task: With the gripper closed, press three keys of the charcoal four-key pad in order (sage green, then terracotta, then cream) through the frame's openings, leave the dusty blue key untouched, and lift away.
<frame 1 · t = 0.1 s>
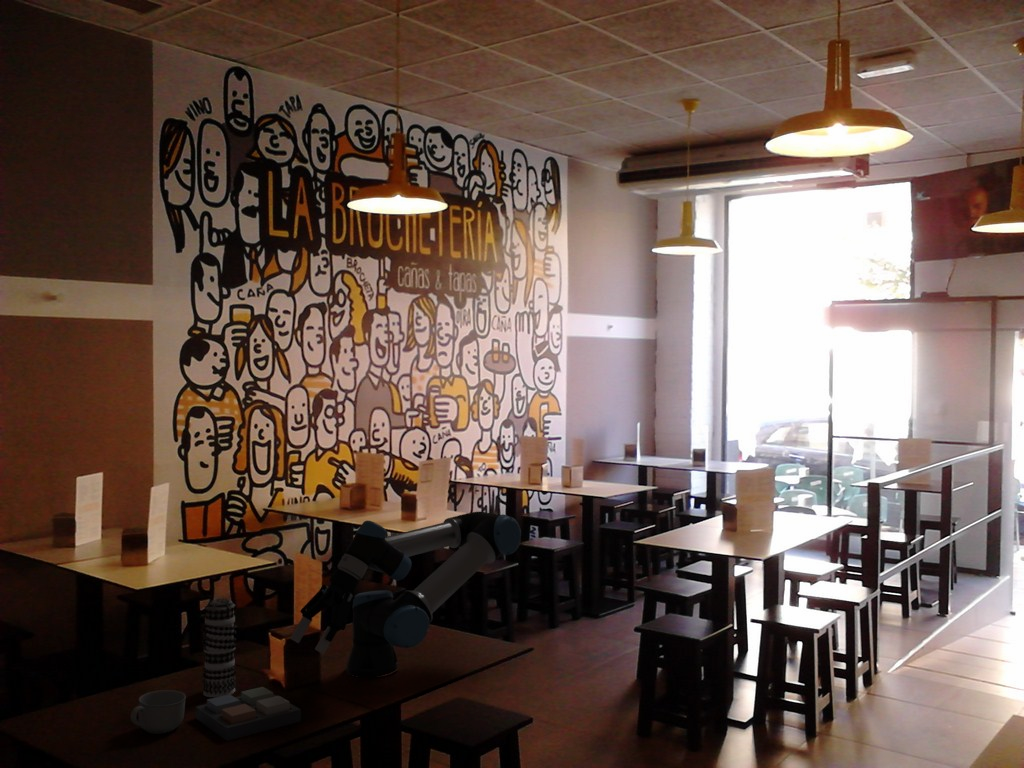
hand: (306, 646, 232), 15 cm above the table, tool tilted 35°, fingers open, 13 cm apart
sage key: (257, 698, 227), point 3 cm above the table, slide at 0.0 cm
blue key: (223, 706, 221), point 3 cm above the table, slide at 0.0 cm
terracotta key: (238, 715, 215), point 3 cm above the table, slide at 0.0 cm
cream key: (273, 707, 220), point 3 cm above the table, slide at 0.0 cm
teacup: (155, 732, 213), on the table
keypad frame: (248, 719, 221), on the table
decorative candle: (219, 693, 241), on the table
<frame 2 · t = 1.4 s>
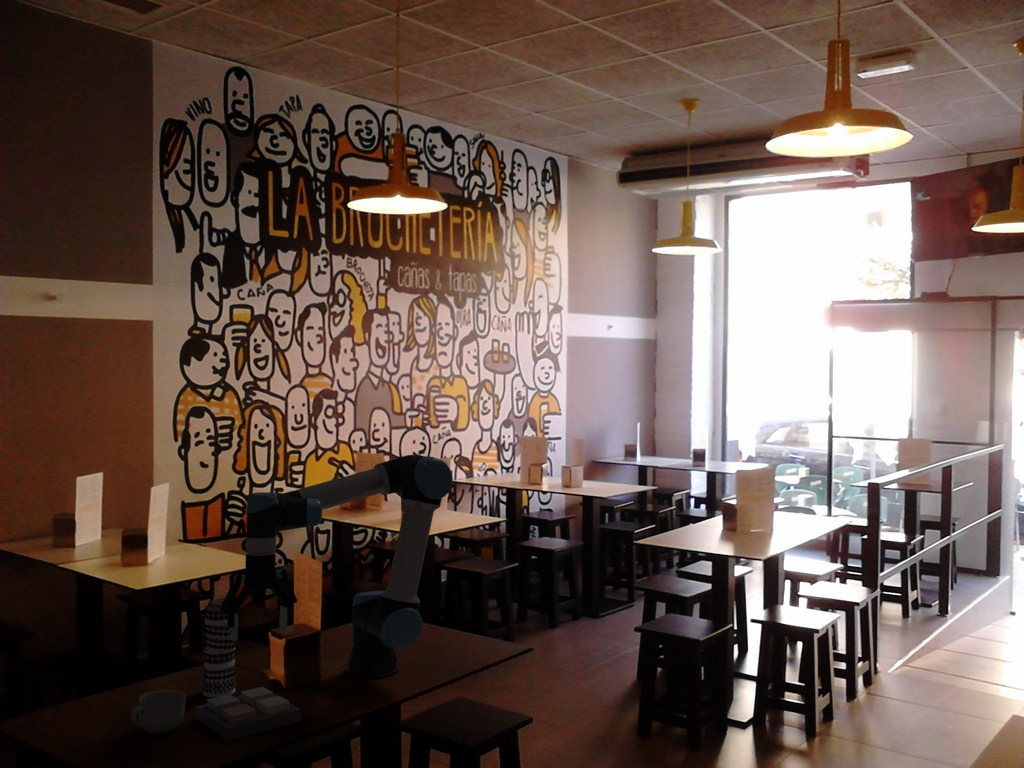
hand: (258, 635, 228), 19 cm above the table, tool pointing down, fingers open, 13 cm apart
nothing on the table moved.
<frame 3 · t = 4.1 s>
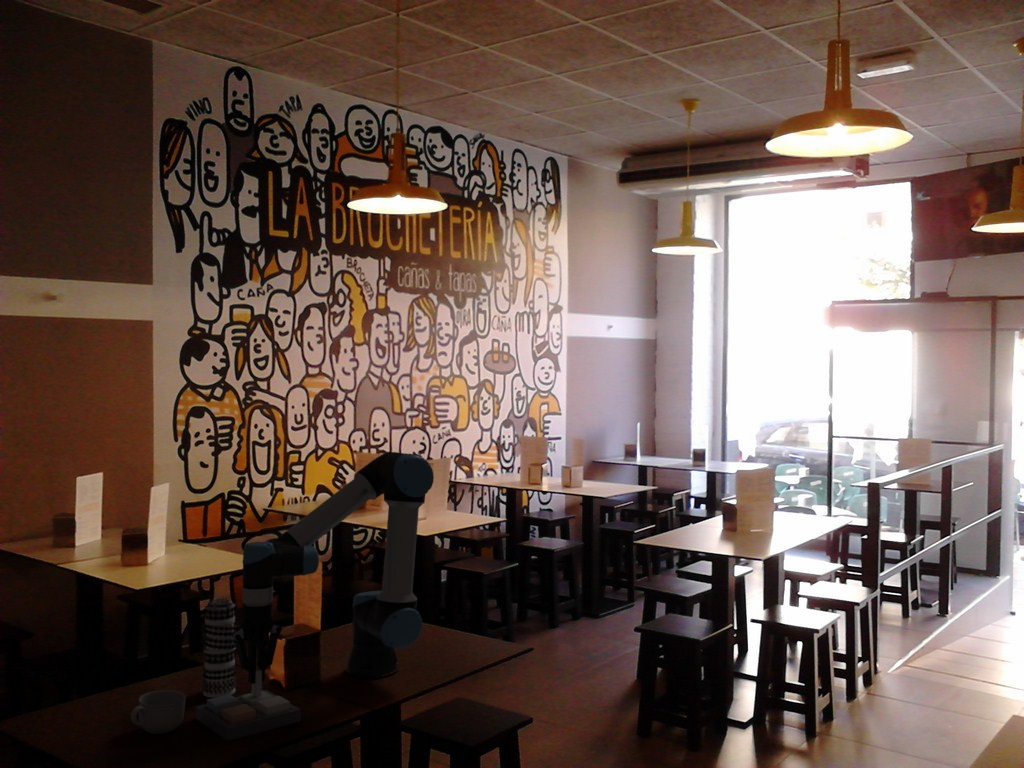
hand: (256, 694, 227), 4 cm above the table, tool pointing down, fingers closed
sage key: (257, 701, 227), point 2 cm above the table, slide at 1.0 cm, touching gripper
everything else where it was.
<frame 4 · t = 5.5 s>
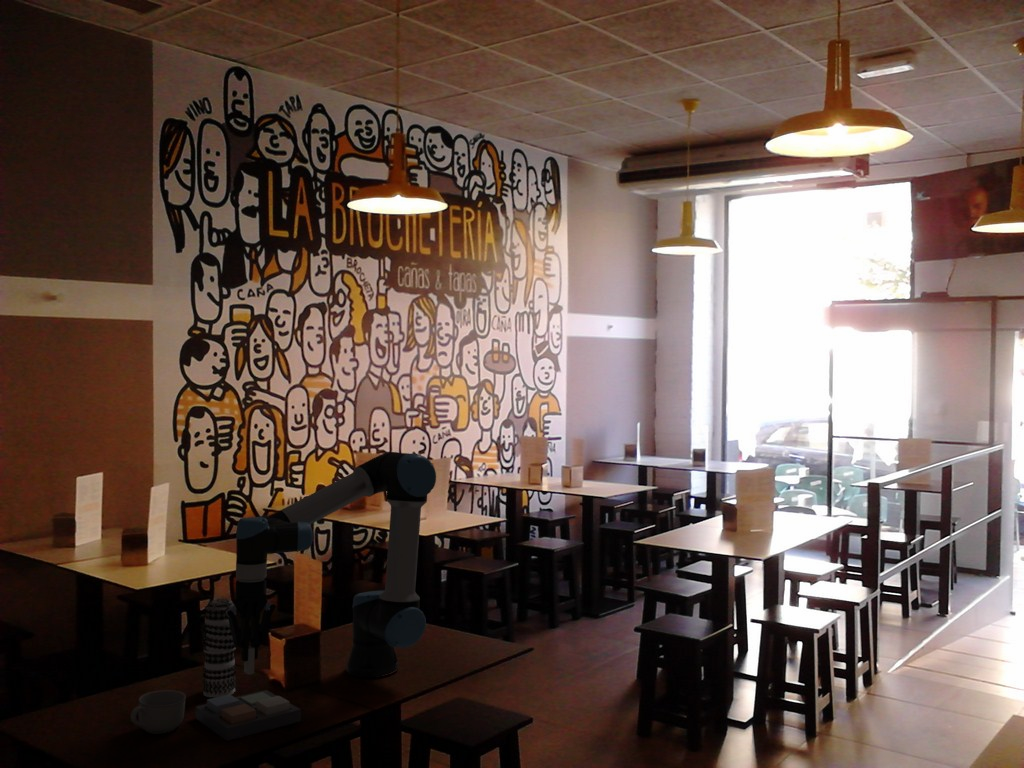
hand: (249, 672, 223), 11 cm above the table, tool pointing down, fingers closed
sage key: (257, 703, 227), point 2 cm above the table, slide at 1.4 cm
everything else where it was.
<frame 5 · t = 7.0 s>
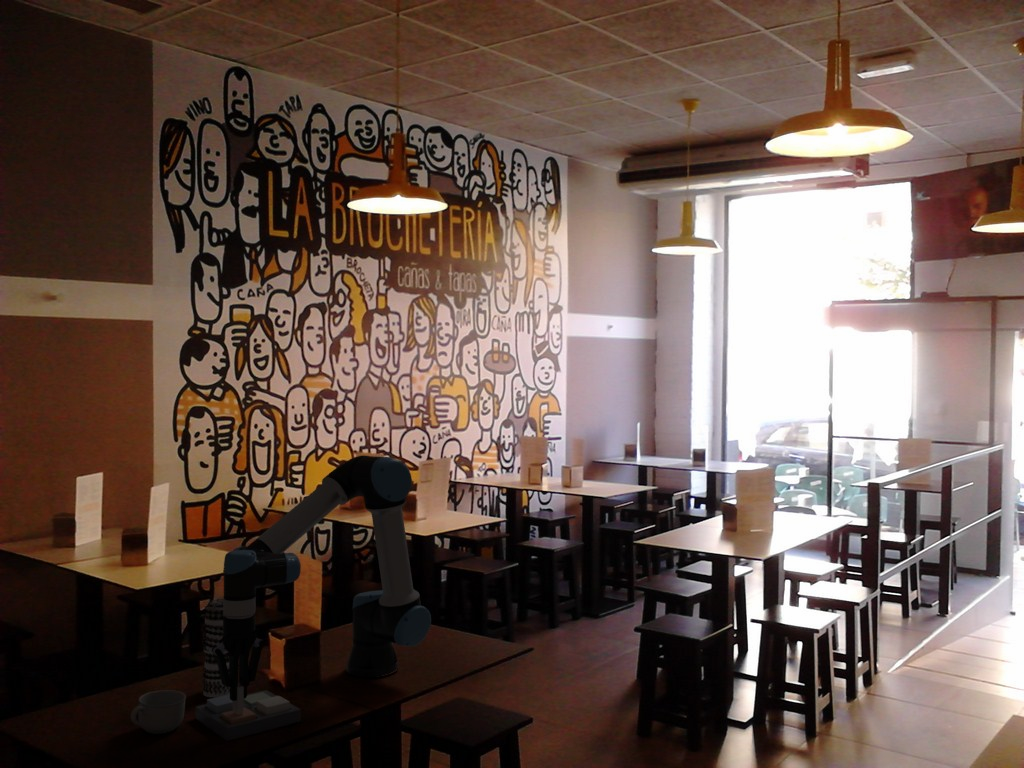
hand: (238, 712, 214), 4 cm above the table, tool pointing down, fingers closed
terracotta key: (238, 719, 215), point 2 cm above the table, slide at 0.9 cm, touching gripper
everything else where it was.
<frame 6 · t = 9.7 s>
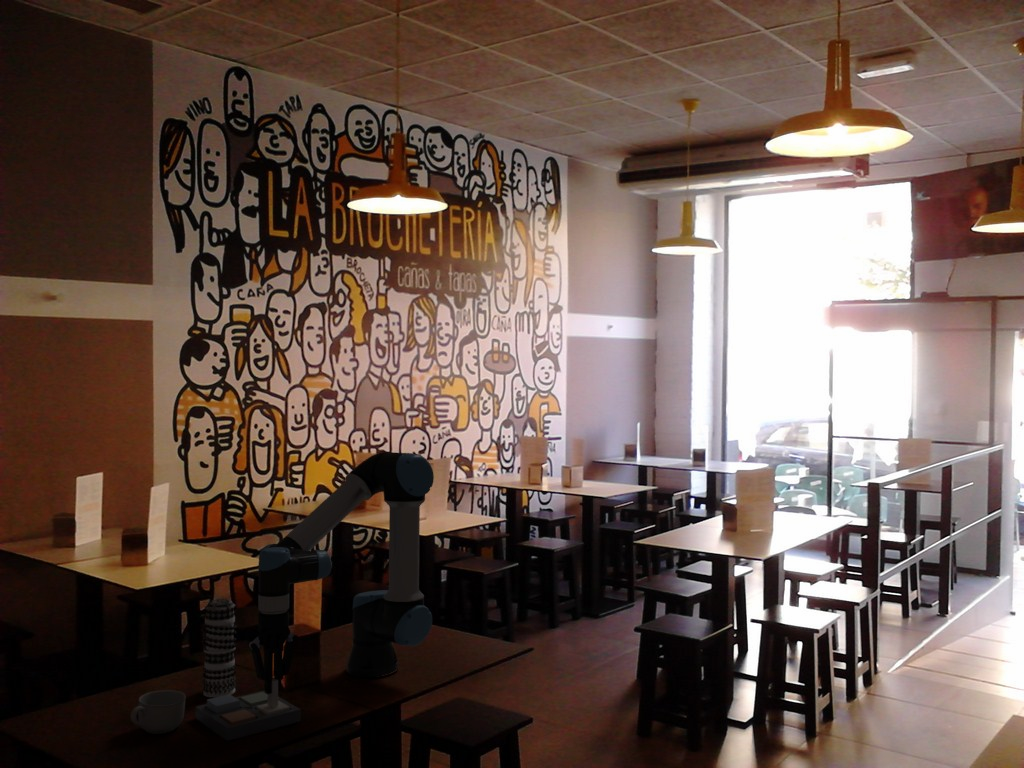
hand: (272, 705, 220), 4 cm above the table, tool pointing down, fingers closed
terracotta key: (238, 721, 215), point 2 cm above the table, slide at 1.4 cm
cream key: (273, 712, 220), point 2 cm above the table, slide at 1.3 cm, touching gripper
everything else where it was.
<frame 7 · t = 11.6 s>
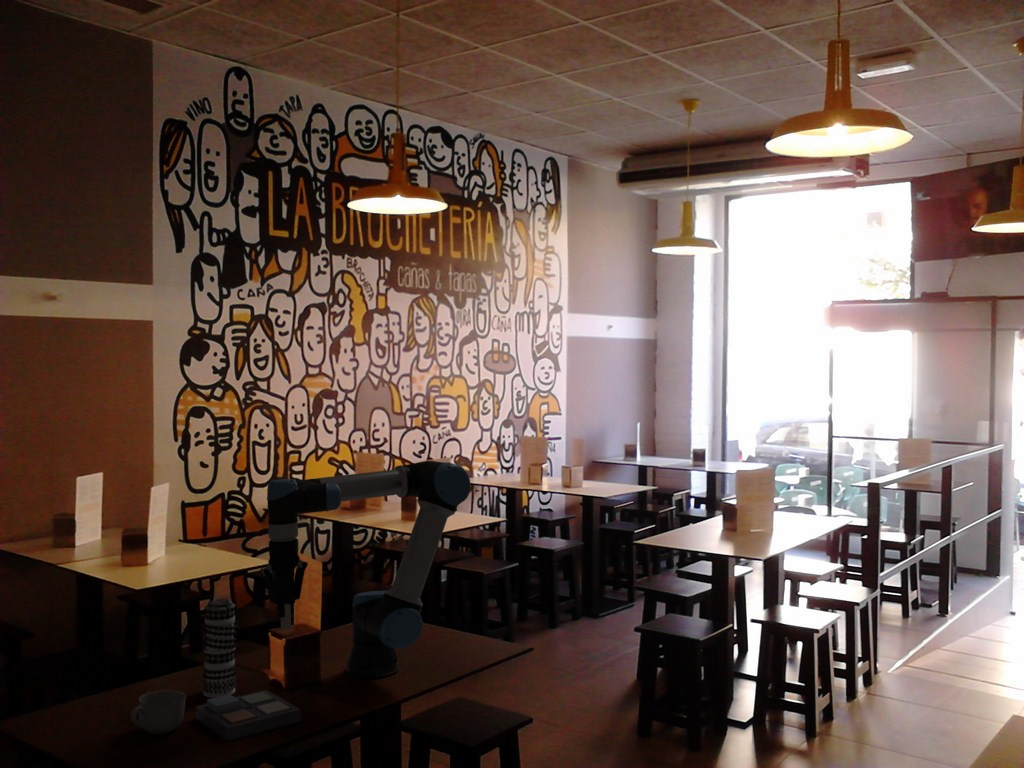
hand: (286, 628, 232), 20 cm above the table, tool pointing down, fingers closed
cream key: (273, 713, 220), point 2 cm above the table, slide at 1.4 cm
everything else where it was.
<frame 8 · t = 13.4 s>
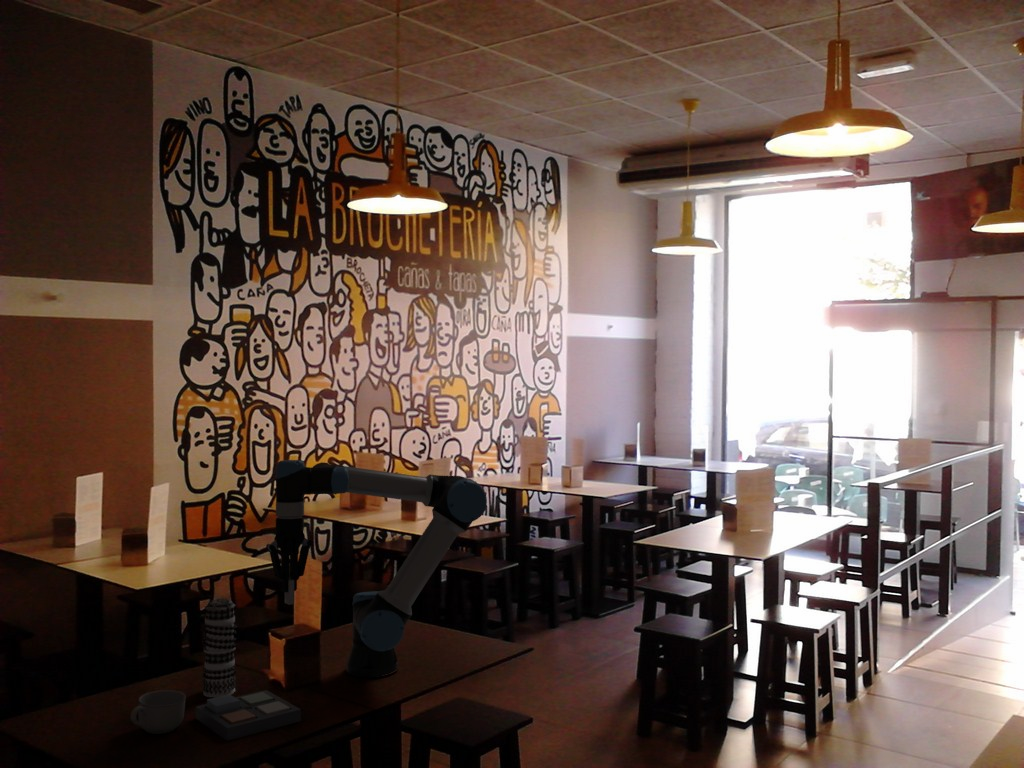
hand: (289, 603, 241), 24 cm above the table, tool pointing down, fingers closed
nothing on the table moved.
at the end: sage key slide at 1.4 cm; terracotta key slide at 1.4 cm; cream key slide at 1.4 cm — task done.
